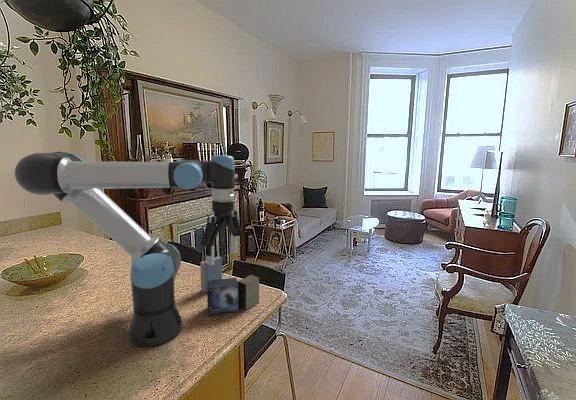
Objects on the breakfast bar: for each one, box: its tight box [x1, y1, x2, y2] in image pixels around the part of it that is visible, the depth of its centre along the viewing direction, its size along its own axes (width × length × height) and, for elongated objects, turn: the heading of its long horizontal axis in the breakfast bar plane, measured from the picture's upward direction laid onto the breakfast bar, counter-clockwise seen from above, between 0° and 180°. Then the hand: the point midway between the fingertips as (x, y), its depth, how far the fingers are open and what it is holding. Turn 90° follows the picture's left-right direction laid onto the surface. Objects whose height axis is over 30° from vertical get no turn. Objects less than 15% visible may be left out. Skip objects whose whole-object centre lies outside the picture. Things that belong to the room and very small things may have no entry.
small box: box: [206, 277, 239, 317], centre depth 104 cm, size 11×6×10 cm, turn 105°
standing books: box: [199, 256, 223, 294], centre depth 119 cm, size 7×5×13 cm, turn 145°
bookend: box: [237, 274, 260, 312], centre depth 107 cm, size 7×4×10 cm, turn 145°
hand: (222, 258), depth 106 cm, fingers open, 13 cm apart
